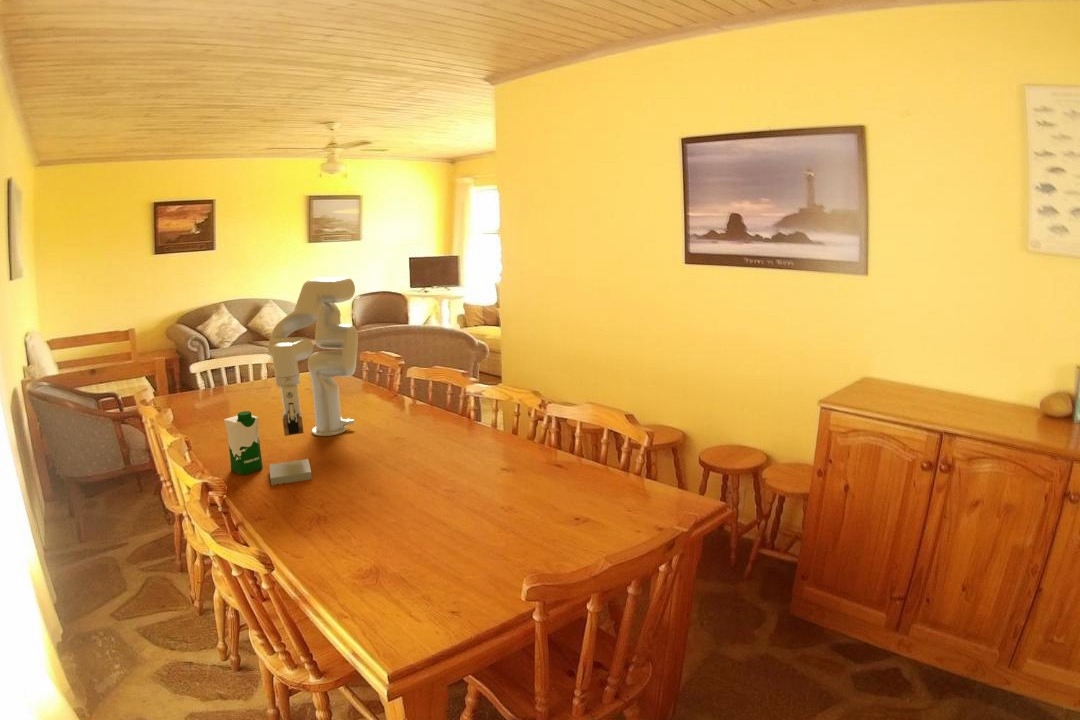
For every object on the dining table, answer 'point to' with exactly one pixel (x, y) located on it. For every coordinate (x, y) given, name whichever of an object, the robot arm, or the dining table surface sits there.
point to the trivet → (290, 472)
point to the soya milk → (244, 443)
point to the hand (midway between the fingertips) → (293, 429)
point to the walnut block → (299, 419)
